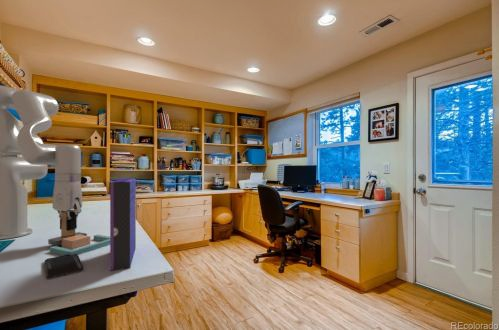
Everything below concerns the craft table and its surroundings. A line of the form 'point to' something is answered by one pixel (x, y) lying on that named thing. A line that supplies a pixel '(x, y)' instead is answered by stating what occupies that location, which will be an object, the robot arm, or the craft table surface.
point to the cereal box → (122, 223)
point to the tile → (75, 241)
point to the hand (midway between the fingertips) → (68, 228)
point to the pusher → (64, 231)
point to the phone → (62, 266)
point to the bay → (63, 251)
